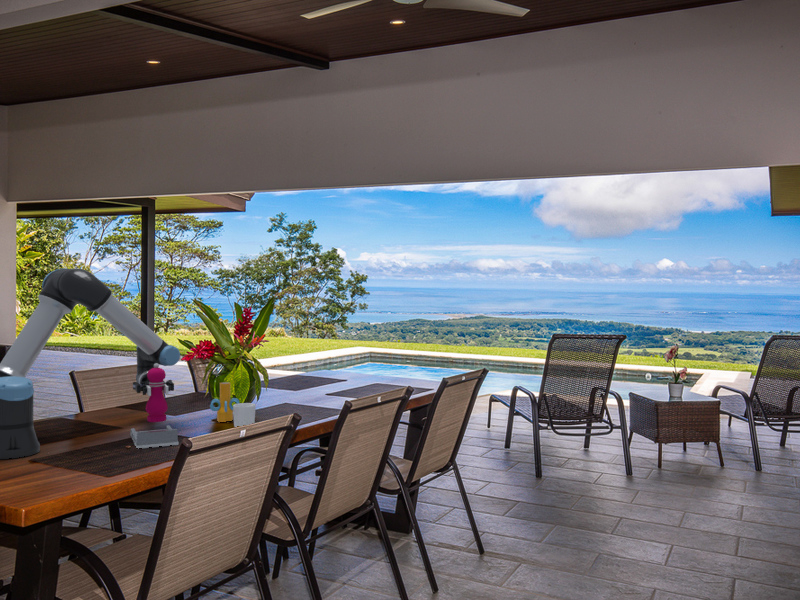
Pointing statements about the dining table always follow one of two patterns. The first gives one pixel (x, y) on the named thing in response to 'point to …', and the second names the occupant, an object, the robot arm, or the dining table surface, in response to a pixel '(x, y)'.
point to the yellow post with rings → (224, 404)
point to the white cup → (244, 414)
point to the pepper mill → (156, 395)
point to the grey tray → (155, 437)
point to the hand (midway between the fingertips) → (158, 391)
